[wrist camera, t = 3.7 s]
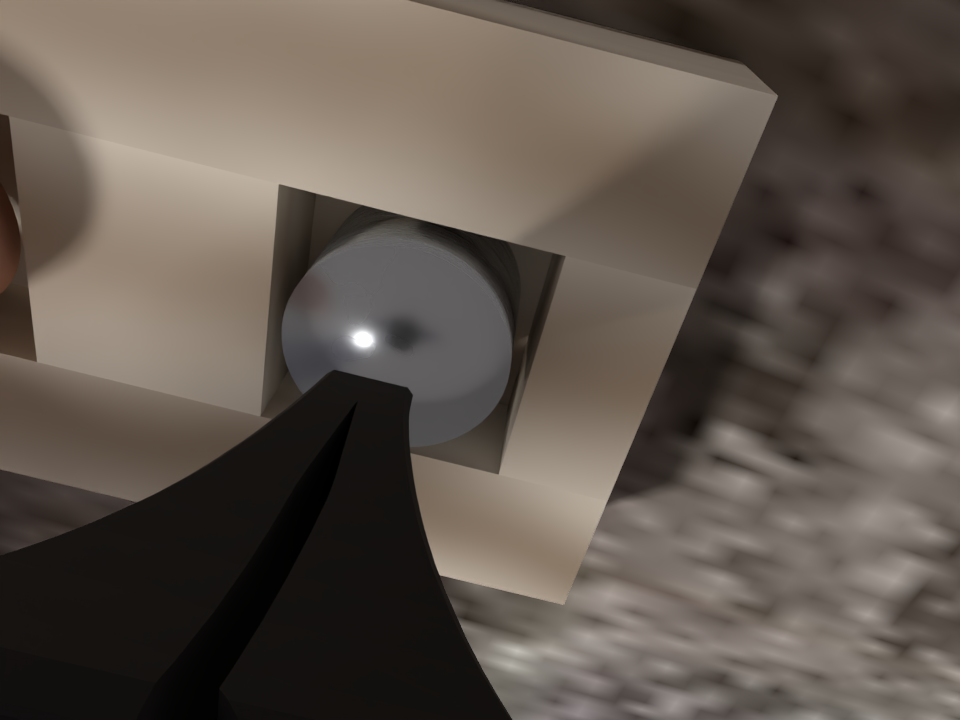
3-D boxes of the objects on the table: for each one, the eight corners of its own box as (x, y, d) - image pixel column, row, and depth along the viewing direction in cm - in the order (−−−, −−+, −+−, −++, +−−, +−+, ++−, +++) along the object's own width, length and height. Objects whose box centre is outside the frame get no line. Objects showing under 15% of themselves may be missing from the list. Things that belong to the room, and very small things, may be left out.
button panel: (564, 517, 20) (564, 604, 18) (-164, 340, 20) (-272, 404, 17) (741, 61, 14) (778, 96, 12) (-319, -213, 14) (-525, -241, 11)
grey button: (495, 388, 18) (482, 468, 15) (316, 344, 18) (273, 417, 15) (543, 219, 16) (537, 280, 13) (337, 167, 16) (291, 219, 13)
